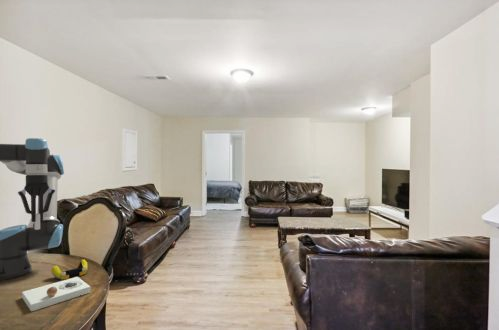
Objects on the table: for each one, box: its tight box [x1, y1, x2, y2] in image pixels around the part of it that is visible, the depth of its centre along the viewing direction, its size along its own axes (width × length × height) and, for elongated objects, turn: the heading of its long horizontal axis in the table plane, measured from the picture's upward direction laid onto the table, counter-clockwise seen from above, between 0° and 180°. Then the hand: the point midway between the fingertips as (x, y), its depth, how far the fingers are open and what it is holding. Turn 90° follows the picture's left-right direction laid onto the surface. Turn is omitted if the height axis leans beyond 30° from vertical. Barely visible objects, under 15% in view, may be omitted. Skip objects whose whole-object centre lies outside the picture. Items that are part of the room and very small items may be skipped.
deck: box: [21, 276, 92, 312], centre depth 115 cm, size 16×20×2 cm
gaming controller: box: [51, 259, 88, 281], centre depth 136 cm, size 15×6×10 cm
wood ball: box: [47, 287, 57, 296], centre depth 109 cm, size 3×3×3 cm
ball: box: [65, 283, 74, 288], centre depth 119 cm, size 3×3×3 cm
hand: (37, 228), depth 120 cm, fingers closed
